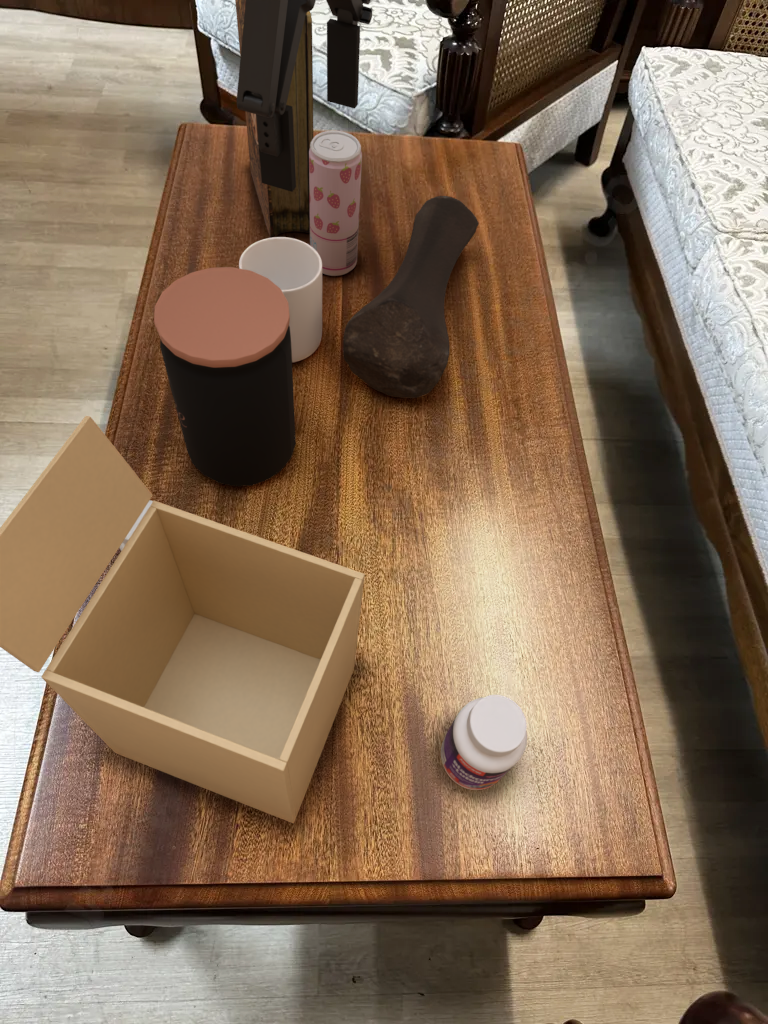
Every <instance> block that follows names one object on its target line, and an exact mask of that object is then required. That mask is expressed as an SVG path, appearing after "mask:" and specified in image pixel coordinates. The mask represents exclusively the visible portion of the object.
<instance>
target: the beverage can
mask: <svg viewBox="0 0 768 1024" xmlns="http://www.w3.org/2000/svg"><path fill="white" fill-rule="evenodd" d="M362 161H363V152H362V146H361V142H360V141H359V139H357V137H356V136H354V135H353V134H351V133H349V132H346V131H343V130H325V131H322V132H319V133H318V134H316V135H315V136H313V139H312V141H311V144H310V150H309V197H310V233H309V245H310V246H312V247H313V248H314V249H315V250H316V251H317V252H318V254H319V255H320V258H321V260H322V275H323V274H324V275H326V276H331V277H336V276H337V277H338V276H339V277H340V276H343V275H346V274H348V273H350V272H351V271H353V269H354V268H355V267H356V265H357V262H358V247H359V229H360V228H359V227H360V225H359V224H360V207H361V206H360V205H361V186H362V185H361V184H362V165H363V162H362Z"/></svg>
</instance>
